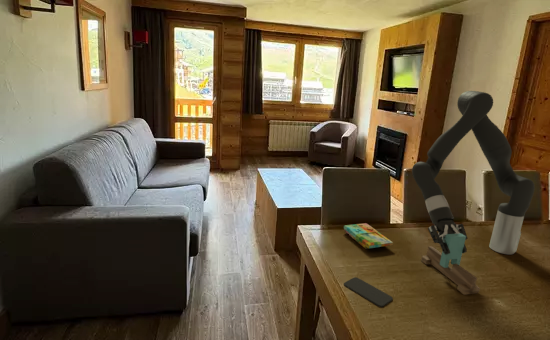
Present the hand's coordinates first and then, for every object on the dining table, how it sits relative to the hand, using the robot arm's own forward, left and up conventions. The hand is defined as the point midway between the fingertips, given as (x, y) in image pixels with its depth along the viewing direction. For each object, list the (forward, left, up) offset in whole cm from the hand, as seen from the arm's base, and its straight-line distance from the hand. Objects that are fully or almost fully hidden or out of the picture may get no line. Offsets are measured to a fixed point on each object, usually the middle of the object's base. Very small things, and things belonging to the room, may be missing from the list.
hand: (456, 253), depth 116 cm
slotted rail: (0, -2, -10) cm, 10 cm away
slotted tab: (0, -2, -6) cm, 6 cm away
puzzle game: (+17, -31, -11) cm, 37 cm away
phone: (+35, +2, -11) cm, 36 cm away
